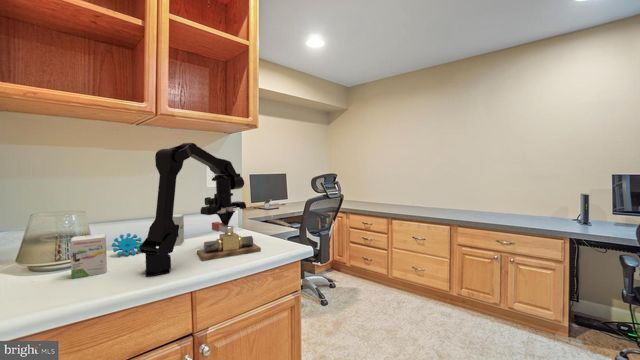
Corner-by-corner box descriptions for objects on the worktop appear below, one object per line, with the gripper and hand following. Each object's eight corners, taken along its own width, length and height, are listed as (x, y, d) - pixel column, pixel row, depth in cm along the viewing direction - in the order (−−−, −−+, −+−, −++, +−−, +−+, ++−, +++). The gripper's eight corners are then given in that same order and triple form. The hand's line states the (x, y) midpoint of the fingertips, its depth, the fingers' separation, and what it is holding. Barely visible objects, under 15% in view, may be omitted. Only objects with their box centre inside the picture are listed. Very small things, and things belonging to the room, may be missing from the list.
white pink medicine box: (70, 279, 86) (69, 240, 85) (73, 274, 90) (71, 236, 89) (106, 273, 90) (105, 236, 90) (107, 268, 95) (106, 233, 94)
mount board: (201, 261, 102) (201, 256, 102) (196, 254, 111) (196, 250, 111) (260, 251, 114) (260, 247, 114) (252, 245, 122) (252, 242, 122)
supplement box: (180, 245, 123) (180, 216, 123) (161, 246, 121) (161, 217, 121) (184, 241, 130) (184, 213, 130) (166, 242, 129) (166, 214, 128)
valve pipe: (206, 255, 105) (206, 239, 105) (203, 252, 110) (203, 236, 110) (254, 248, 115) (253, 233, 114) (249, 245, 119) (249, 230, 119)
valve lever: (234, 233, 112) (234, 226, 112) (227, 235, 110) (227, 227, 110) (218, 228, 122) (218, 221, 121) (211, 229, 119) (211, 222, 119)
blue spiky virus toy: (110, 255, 104) (113, 232, 110) (109, 263, 108) (112, 240, 114) (145, 254, 110) (146, 232, 117) (143, 262, 114) (144, 240, 120)
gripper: (229, 188, 131) (231, 222, 132) (191, 192, 116) (193, 230, 117) (246, 189, 125) (247, 224, 126) (208, 193, 109) (210, 234, 110)
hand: (225, 228), depth 120 cm, fingers closed
